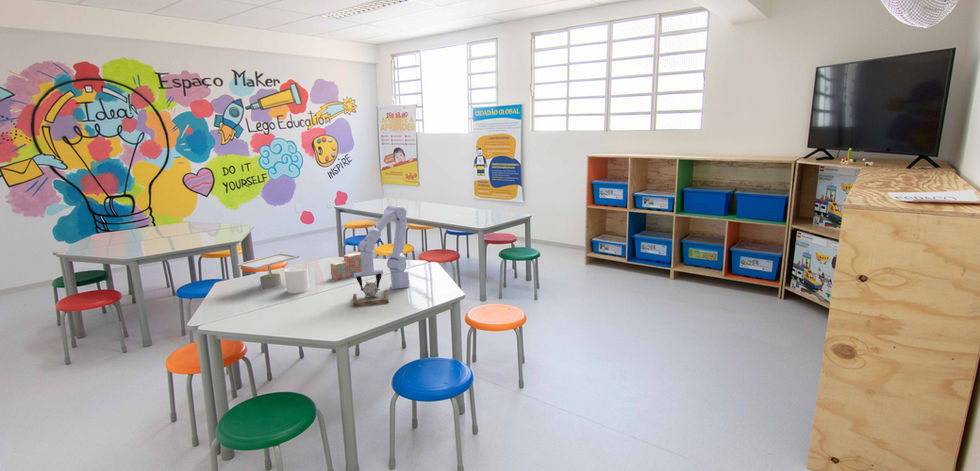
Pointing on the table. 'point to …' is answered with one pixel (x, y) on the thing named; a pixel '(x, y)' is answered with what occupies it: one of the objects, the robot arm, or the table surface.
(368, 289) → the game die
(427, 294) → the table surface
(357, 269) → the stack of blocks
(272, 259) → the solar panel model
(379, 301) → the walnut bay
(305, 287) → the cup
